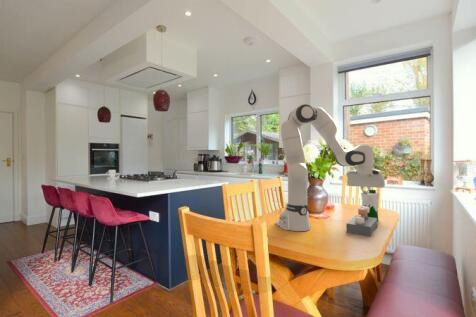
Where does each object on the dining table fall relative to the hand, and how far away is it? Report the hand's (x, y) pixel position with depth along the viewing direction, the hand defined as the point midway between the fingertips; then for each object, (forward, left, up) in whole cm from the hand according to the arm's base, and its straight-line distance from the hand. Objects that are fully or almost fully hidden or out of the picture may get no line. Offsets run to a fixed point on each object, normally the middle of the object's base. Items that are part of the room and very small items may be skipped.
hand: (365, 194), depth 152 cm
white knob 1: (+8, -14, -18) cm, 24 cm away
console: (+4, -7, -19) cm, 21 cm away
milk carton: (-9, +15, -20) cm, 26 cm away
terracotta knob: (+4, -7, -15) cm, 17 cm away
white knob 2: (0, 0, -15) cm, 15 cm away
